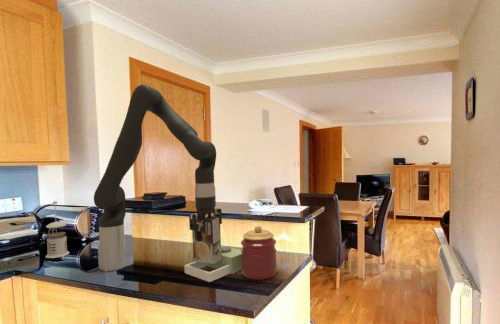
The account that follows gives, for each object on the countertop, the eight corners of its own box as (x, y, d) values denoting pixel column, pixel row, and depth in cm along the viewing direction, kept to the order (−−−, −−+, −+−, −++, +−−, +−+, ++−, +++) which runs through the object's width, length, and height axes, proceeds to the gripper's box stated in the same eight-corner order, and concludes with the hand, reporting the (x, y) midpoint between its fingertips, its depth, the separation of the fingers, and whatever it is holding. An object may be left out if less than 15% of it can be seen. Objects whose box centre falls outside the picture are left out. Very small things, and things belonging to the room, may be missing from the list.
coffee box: (222, 258, 120) (221, 216, 119) (214, 264, 114) (212, 219, 113) (201, 256, 123) (200, 215, 123) (192, 261, 117) (190, 218, 117)
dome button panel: (211, 282, 109) (210, 262, 109) (183, 272, 120) (182, 254, 120) (248, 266, 123) (247, 249, 123) (219, 258, 134) (219, 242, 134)
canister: (279, 268, 121) (278, 222, 121) (274, 281, 109) (272, 230, 108) (246, 266, 124) (244, 221, 124) (237, 279, 112) (236, 229, 111)
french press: (50, 259, 141) (47, 203, 140) (39, 255, 148) (37, 201, 147) (73, 253, 149) (70, 200, 148) (62, 249, 156) (60, 198, 155)
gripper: (212, 192, 126) (214, 233, 126) (183, 196, 115) (185, 241, 115) (226, 193, 121) (227, 236, 121) (196, 198, 110) (198, 245, 110)
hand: (206, 238), depth 118 cm, fingers closed on coffee box, 7 cm apart
